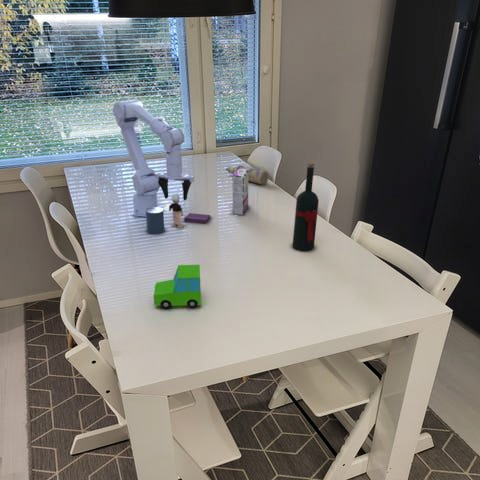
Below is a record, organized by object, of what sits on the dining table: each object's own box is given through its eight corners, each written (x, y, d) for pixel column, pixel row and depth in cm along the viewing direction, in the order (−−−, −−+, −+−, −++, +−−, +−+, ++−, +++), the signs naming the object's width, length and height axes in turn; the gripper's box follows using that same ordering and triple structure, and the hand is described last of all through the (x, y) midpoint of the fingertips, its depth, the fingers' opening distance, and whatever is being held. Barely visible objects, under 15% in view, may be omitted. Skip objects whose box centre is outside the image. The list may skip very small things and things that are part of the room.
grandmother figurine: (188, 225, 192) (186, 194, 185) (182, 229, 189) (181, 197, 182) (171, 222, 195) (169, 191, 188) (166, 225, 192) (164, 194, 185)
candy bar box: (237, 205, 213) (237, 168, 204) (248, 206, 212) (249, 169, 204) (231, 214, 204) (232, 175, 195) (243, 215, 203) (244, 176, 194)
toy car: (156, 294, 145) (153, 264, 140) (200, 292, 146) (199, 263, 141) (154, 311, 136) (151, 280, 131) (201, 310, 137) (200, 279, 132)
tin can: (144, 233, 185) (142, 212, 180) (151, 227, 190) (149, 206, 186) (161, 235, 184) (159, 213, 179) (166, 228, 189) (165, 207, 185)
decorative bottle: (269, 183, 243) (269, 169, 239) (259, 186, 238) (260, 172, 234) (232, 172, 257) (232, 160, 254) (222, 175, 253) (222, 162, 249)
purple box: (184, 221, 196) (184, 218, 195) (189, 215, 202) (189, 212, 201) (205, 223, 194) (205, 220, 194) (210, 217, 200) (210, 214, 199)
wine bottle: (299, 255, 170) (306, 169, 154) (289, 243, 179) (295, 161, 163) (319, 253, 172) (329, 167, 156) (309, 241, 181) (317, 160, 164)
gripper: (151, 164, 179) (154, 200, 186) (189, 167, 176) (190, 203, 184) (158, 159, 185) (161, 194, 192) (194, 162, 182) (196, 197, 189)
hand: (175, 198), depth 188 cm, fingers open, 7 cm apart
